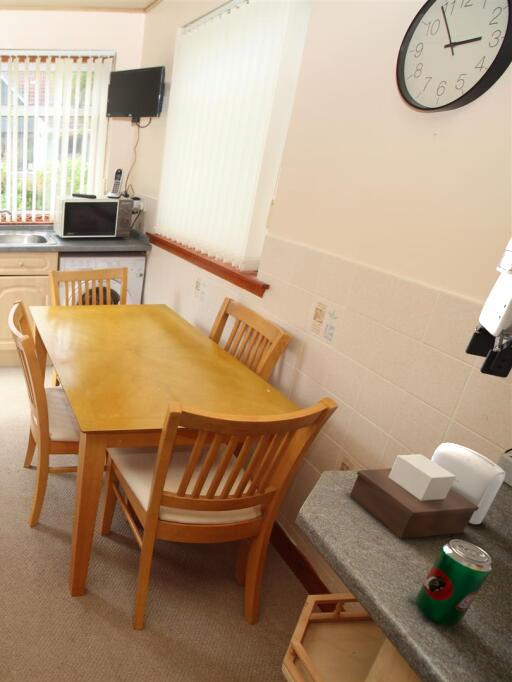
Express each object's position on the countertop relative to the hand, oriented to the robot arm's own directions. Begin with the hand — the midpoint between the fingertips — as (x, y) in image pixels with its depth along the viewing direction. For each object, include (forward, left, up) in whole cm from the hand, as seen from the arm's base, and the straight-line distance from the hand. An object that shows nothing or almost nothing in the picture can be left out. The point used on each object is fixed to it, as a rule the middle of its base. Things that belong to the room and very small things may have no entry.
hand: (484, 364), depth 80 cm
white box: (+5, +2, -24) cm, 25 cm away
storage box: (+5, +2, -30) cm, 30 cm away
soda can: (+20, +21, -30) cm, 42 cm away
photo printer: (-6, +1, -30) cm, 31 cm away
